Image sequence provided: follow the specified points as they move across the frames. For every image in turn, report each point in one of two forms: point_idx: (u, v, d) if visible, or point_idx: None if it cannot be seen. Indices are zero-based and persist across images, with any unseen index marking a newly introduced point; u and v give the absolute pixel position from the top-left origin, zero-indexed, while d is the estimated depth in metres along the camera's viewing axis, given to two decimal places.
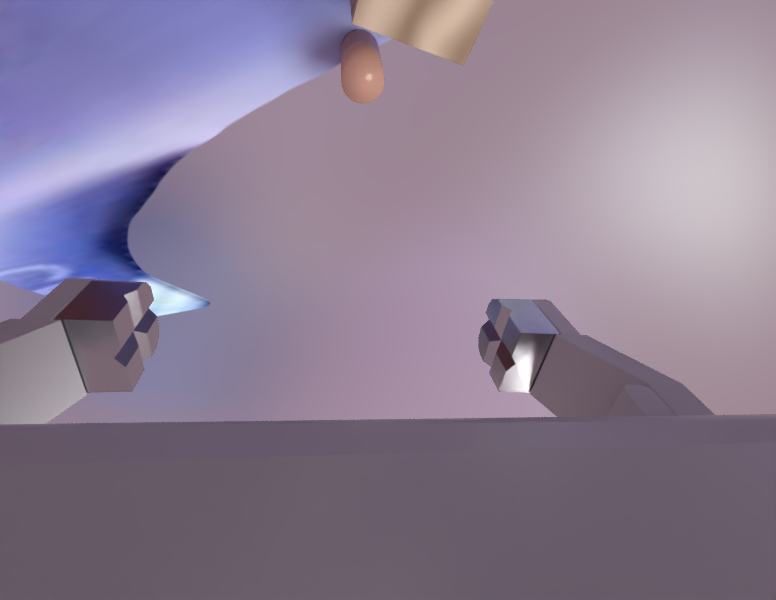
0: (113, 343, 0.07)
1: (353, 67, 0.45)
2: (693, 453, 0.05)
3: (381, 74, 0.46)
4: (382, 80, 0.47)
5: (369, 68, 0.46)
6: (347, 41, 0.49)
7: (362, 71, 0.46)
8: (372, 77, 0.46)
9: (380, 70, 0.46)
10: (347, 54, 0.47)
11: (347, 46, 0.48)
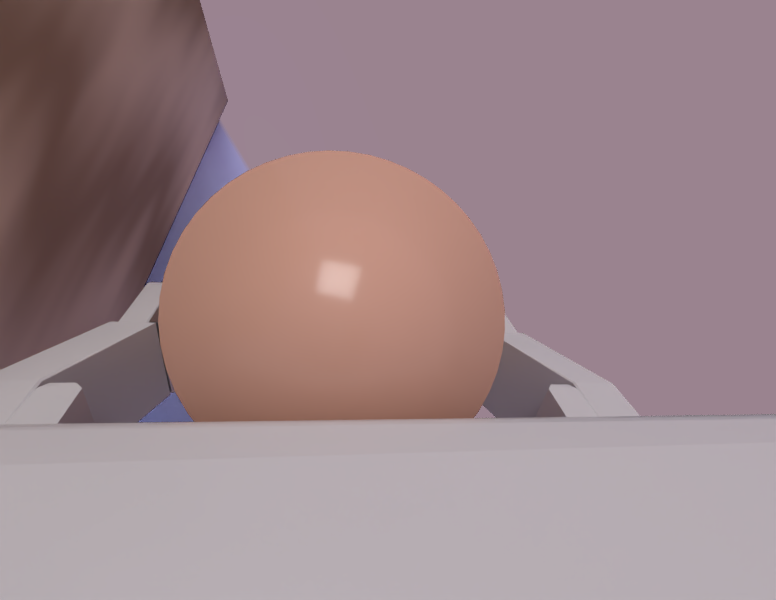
0: None
1: (231, 383, 0.05)
2: (693, 453, 0.05)
3: (289, 168, 0.06)
4: (331, 162, 0.06)
5: (243, 253, 0.06)
6: None
7: (265, 308, 0.06)
8: (311, 232, 0.06)
9: (261, 175, 0.06)
10: None
11: None
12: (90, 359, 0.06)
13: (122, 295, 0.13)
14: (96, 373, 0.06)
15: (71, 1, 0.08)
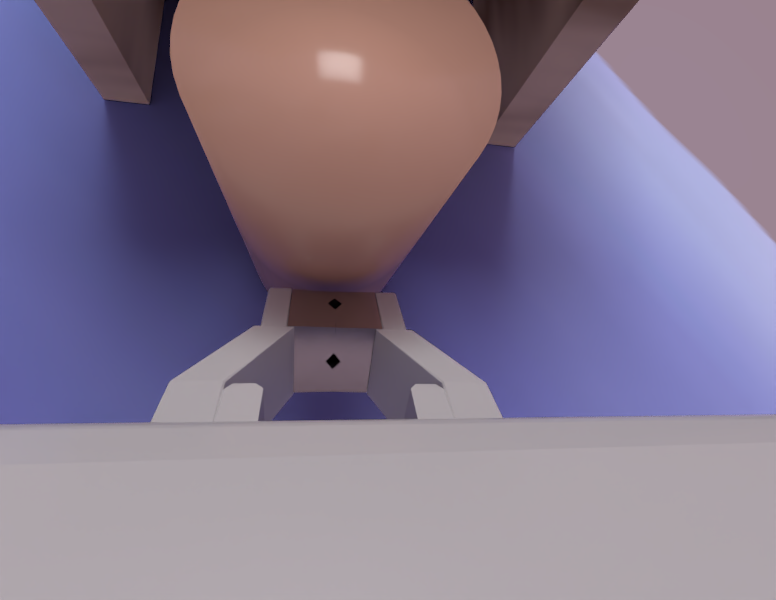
0: (329, 348, 0.08)
1: (242, 112, 0.06)
2: (693, 453, 0.05)
3: None
4: None
5: (248, 5, 0.06)
6: (265, 278, 0.12)
7: (272, 53, 0.06)
8: None
9: None
10: (248, 231, 0.08)
11: (259, 263, 0.10)
12: (254, 361, 0.07)
13: None
14: (255, 374, 0.07)
15: None
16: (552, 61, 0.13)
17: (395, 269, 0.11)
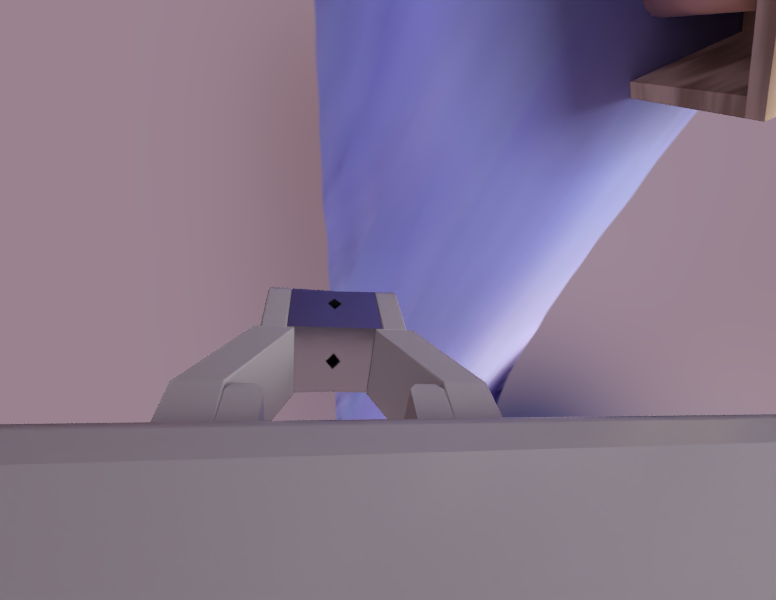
0: (329, 348, 0.08)
1: None
2: (693, 453, 0.05)
3: None
4: None
5: None
6: None
7: None
8: None
9: None
10: None
11: None
12: (254, 361, 0.07)
13: None
14: (255, 374, 0.07)
15: None
16: (663, 90, 0.34)
17: (685, 12, 0.32)
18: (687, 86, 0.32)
